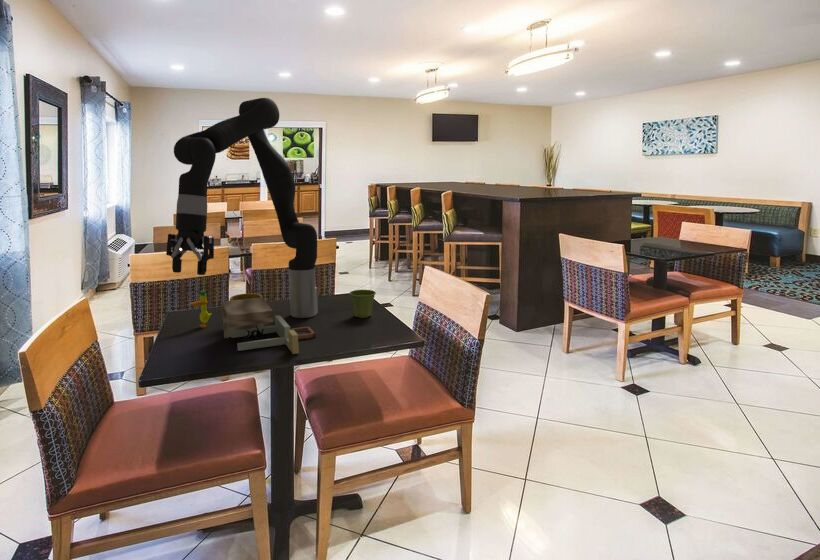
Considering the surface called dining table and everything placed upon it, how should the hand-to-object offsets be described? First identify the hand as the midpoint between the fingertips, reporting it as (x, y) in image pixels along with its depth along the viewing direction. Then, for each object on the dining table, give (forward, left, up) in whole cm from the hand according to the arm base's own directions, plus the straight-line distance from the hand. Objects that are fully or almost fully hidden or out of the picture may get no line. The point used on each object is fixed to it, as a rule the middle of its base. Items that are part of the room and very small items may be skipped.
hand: (188, 273), depth 134 cm
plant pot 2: (-56, +22, -24) cm, 65 cm away
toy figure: (-22, -20, -24) cm, 38 cm away
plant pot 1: (-30, -8, -24) cm, 39 cm away
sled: (-15, +11, -23) cm, 30 cm away
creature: (-15, +6, -24) cm, 29 cm away
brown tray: (-28, +15, -24) cm, 39 cm away
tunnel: (-15, +5, -24) cm, 29 cm away
